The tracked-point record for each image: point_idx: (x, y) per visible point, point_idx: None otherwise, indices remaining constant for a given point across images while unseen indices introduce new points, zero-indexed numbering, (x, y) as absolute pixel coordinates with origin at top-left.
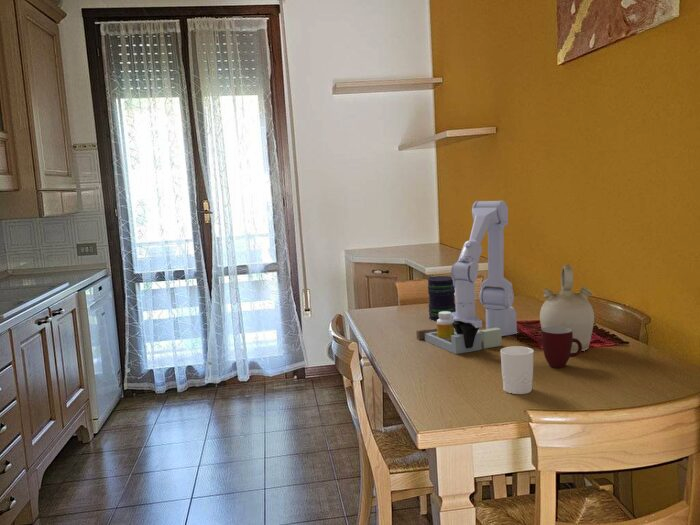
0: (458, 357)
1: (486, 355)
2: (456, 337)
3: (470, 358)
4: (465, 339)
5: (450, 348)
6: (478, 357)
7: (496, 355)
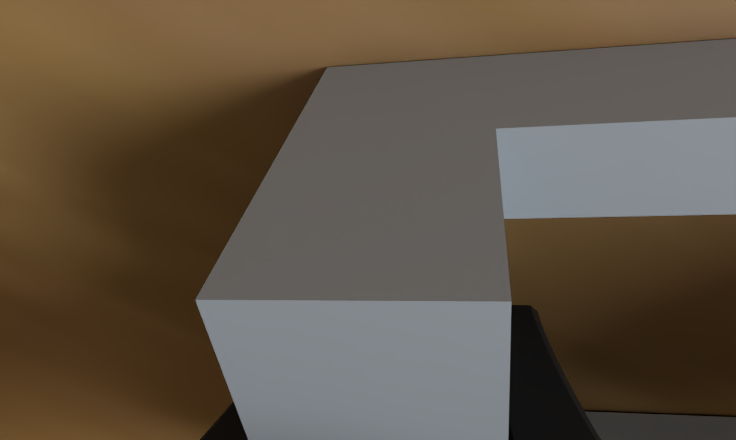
0: (114, 13)
1: (135, 365)
2: (214, 322)
3: (26, 156)
4: (229, 427)
5: (535, 81)
6: (63, 263)
7: (113, 427)
